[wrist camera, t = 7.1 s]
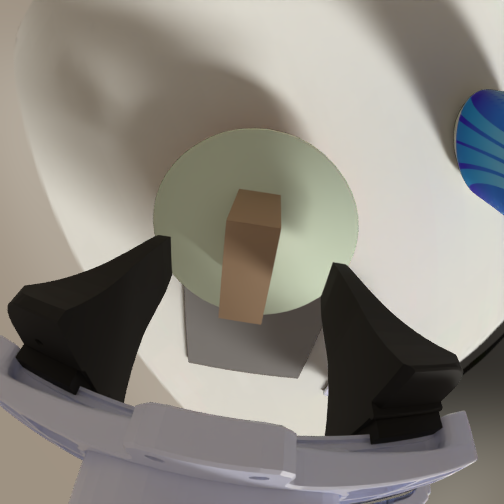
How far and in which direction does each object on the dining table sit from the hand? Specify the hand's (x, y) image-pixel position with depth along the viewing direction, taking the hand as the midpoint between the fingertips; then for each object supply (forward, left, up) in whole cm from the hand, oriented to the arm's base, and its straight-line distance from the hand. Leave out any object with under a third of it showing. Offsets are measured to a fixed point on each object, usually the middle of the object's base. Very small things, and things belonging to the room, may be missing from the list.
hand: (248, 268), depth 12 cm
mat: (-1, +12, -7) cm, 14 cm away
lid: (0, 0, -3) cm, 3 cm away
